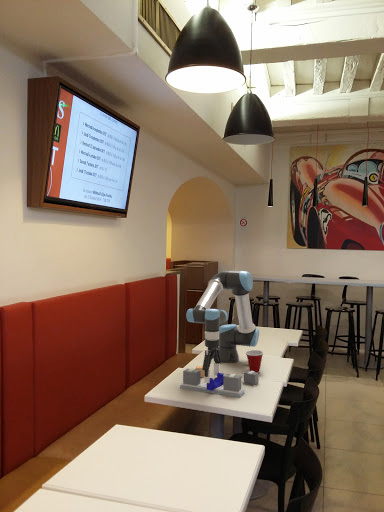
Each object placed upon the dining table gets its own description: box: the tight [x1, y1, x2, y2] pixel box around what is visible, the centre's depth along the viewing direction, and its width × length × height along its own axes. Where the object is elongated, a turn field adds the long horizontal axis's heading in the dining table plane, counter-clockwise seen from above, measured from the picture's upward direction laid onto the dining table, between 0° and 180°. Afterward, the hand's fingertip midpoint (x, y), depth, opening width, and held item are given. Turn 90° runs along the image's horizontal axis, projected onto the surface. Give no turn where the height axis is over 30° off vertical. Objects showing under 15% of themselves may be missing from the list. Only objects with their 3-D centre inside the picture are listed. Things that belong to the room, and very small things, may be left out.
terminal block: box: [194, 365, 204, 378], centre depth 267 cm, size 5×6×5 cm
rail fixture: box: [179, 367, 245, 398], centre depth 240 cm, size 6×34×10 cm, turn 66°
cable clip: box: [206, 372, 225, 391], centre depth 239 cm, size 12×4×6 cm, turn 145°
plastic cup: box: [245, 349, 264, 373], centre depth 276 cm, size 11×11×12 cm
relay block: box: [243, 370, 260, 386], centre depth 253 cm, size 4×7×6 cm, turn 56°
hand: (211, 379), depth 240 cm, fingers open, 13 cm apart
